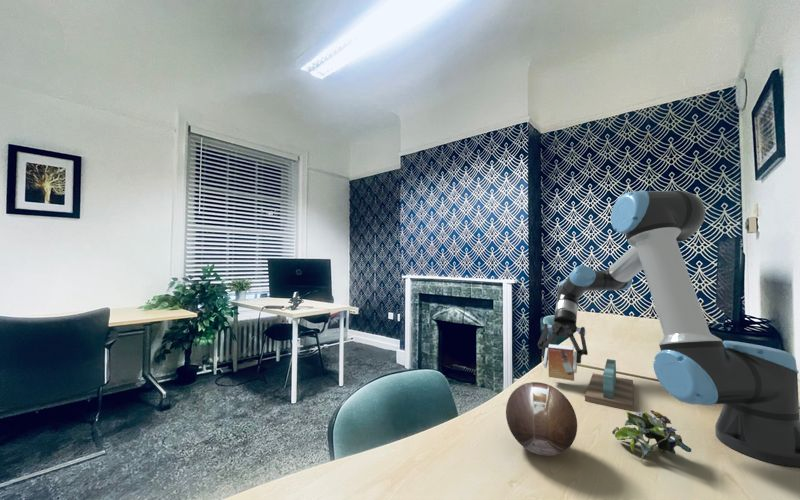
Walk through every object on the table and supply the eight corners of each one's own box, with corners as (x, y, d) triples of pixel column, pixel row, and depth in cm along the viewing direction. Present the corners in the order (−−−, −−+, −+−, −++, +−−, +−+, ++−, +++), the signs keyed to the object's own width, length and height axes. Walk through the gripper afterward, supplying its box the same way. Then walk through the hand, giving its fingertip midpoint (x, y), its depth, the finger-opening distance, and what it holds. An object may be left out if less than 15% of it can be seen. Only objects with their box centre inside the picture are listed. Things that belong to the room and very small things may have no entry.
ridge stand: (632, 411, 92) (631, 382, 93) (584, 400, 99) (584, 374, 100) (633, 384, 112) (632, 360, 112) (593, 377, 119) (592, 355, 119)
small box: (548, 377, 112) (547, 347, 112) (549, 372, 117) (548, 343, 117) (574, 381, 108) (573, 349, 109) (574, 376, 113) (573, 345, 114)
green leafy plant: (662, 475, 73) (703, 444, 68) (640, 484, 67) (683, 450, 63) (619, 427, 82) (653, 397, 77) (596, 431, 76) (631, 399, 72)
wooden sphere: (514, 469, 68) (512, 396, 68) (501, 431, 82) (500, 372, 83) (590, 474, 66) (588, 399, 66) (563, 434, 80) (561, 374, 81)
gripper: (599, 323, 119) (596, 380, 106) (538, 318, 132) (529, 368, 118) (597, 310, 115) (594, 368, 102) (534, 306, 128) (524, 357, 114)
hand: (559, 368), depth 110 cm, fingers closed on small box, 8 cm apart
